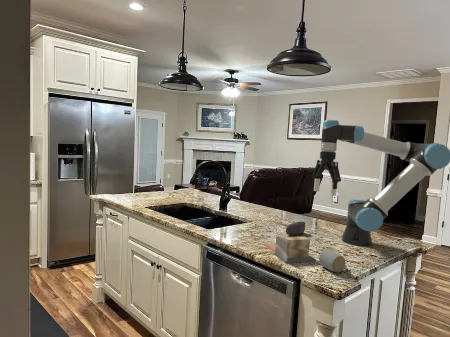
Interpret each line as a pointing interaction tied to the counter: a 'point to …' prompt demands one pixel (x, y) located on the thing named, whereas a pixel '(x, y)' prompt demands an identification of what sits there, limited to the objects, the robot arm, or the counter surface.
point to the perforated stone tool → (295, 228)
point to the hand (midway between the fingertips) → (324, 193)
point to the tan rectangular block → (292, 247)
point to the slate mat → (297, 259)
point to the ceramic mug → (332, 261)
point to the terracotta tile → (271, 246)
